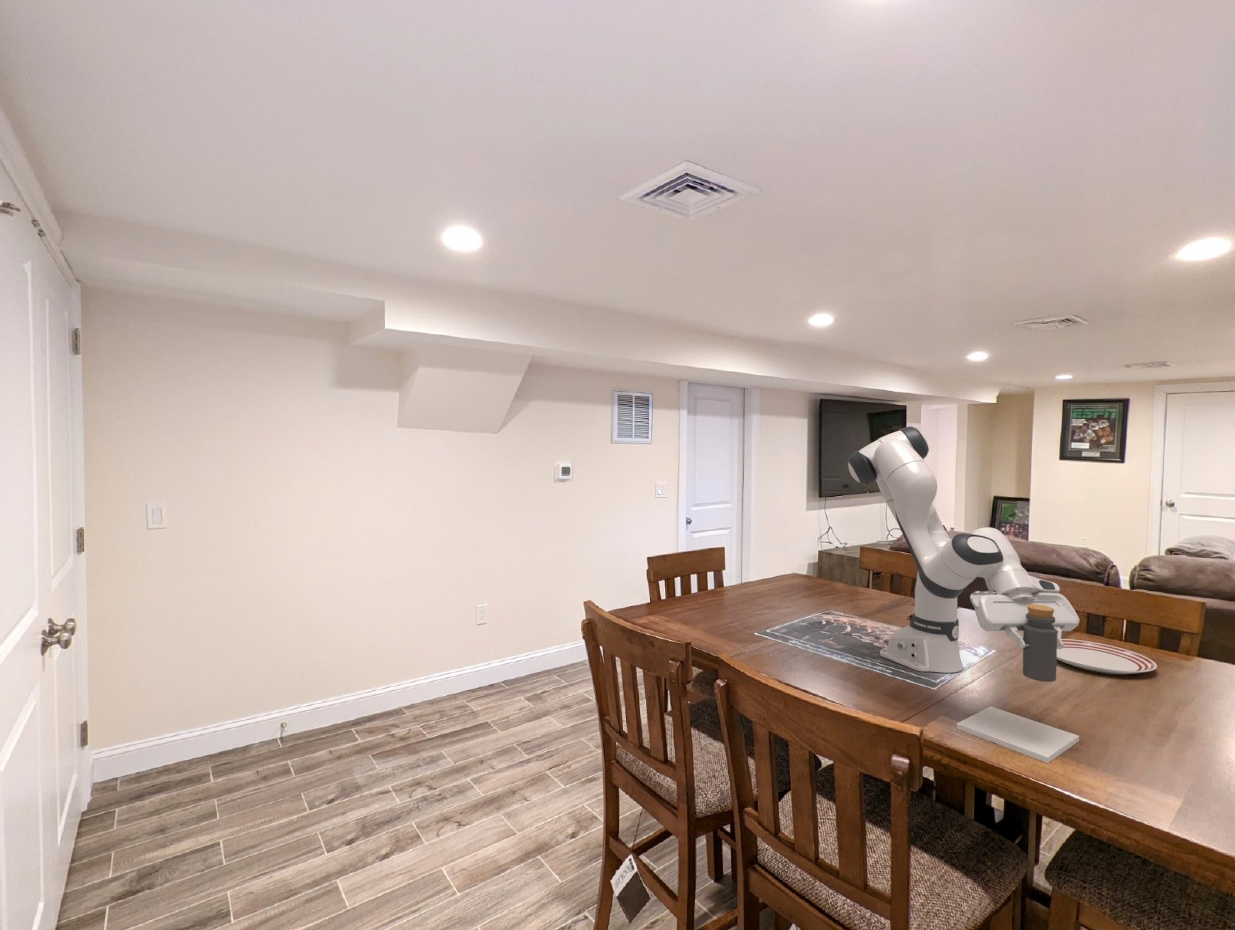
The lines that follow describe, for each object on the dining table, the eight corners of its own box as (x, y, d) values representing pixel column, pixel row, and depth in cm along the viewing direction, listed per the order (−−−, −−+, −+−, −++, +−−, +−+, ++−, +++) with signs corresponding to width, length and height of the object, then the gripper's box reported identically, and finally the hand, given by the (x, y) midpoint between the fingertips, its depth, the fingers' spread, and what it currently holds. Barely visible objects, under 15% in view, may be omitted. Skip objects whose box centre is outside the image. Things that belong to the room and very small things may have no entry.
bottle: (1016, 672, 129) (1017, 603, 129) (1040, 671, 130) (1042, 603, 130) (1037, 682, 124) (1038, 611, 123) (1063, 681, 124) (1064, 610, 124)
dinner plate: (1110, 649, 189) (1110, 638, 188) (1184, 683, 161) (1184, 671, 161) (1018, 646, 191) (1018, 636, 191) (1076, 680, 164) (1076, 668, 164)
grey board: (956, 728, 136) (956, 723, 136) (990, 711, 144) (990, 706, 144) (1047, 763, 121) (1047, 757, 121) (1078, 741, 130) (1079, 735, 130)
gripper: (972, 583, 133) (999, 641, 124) (1064, 583, 133) (1098, 640, 124) (961, 598, 138) (986, 654, 129) (1050, 598, 138) (1081, 654, 128)
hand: (1042, 647), depth 126 cm, fingers closed on bottle, 6 cm apart
